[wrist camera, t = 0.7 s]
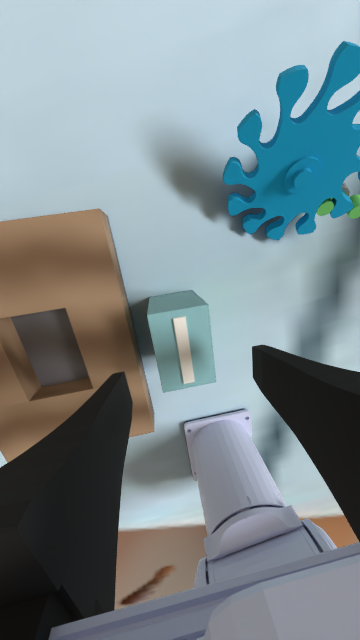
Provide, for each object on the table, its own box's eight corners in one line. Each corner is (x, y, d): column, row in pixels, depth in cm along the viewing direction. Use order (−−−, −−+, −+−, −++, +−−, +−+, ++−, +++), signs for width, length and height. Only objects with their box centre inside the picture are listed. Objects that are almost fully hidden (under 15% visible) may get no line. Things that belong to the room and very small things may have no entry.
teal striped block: (199, 347, 20) (216, 383, 14) (160, 354, 20) (163, 394, 14) (191, 289, 18) (209, 305, 13) (149, 297, 18) (146, 315, 12)
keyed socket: (154, 413, 22) (154, 431, 20) (24, 440, 21) (8, 463, 19) (107, 215, 16) (99, 208, 13) (-82, 241, 15) (-127, 238, 12)
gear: (195, 205, 15) (348, -42, 7) (200, 166, 18) (312, -41, 10) (294, 266, 19) (464, 156, 11) (285, 226, 22) (414, 115, 14)
